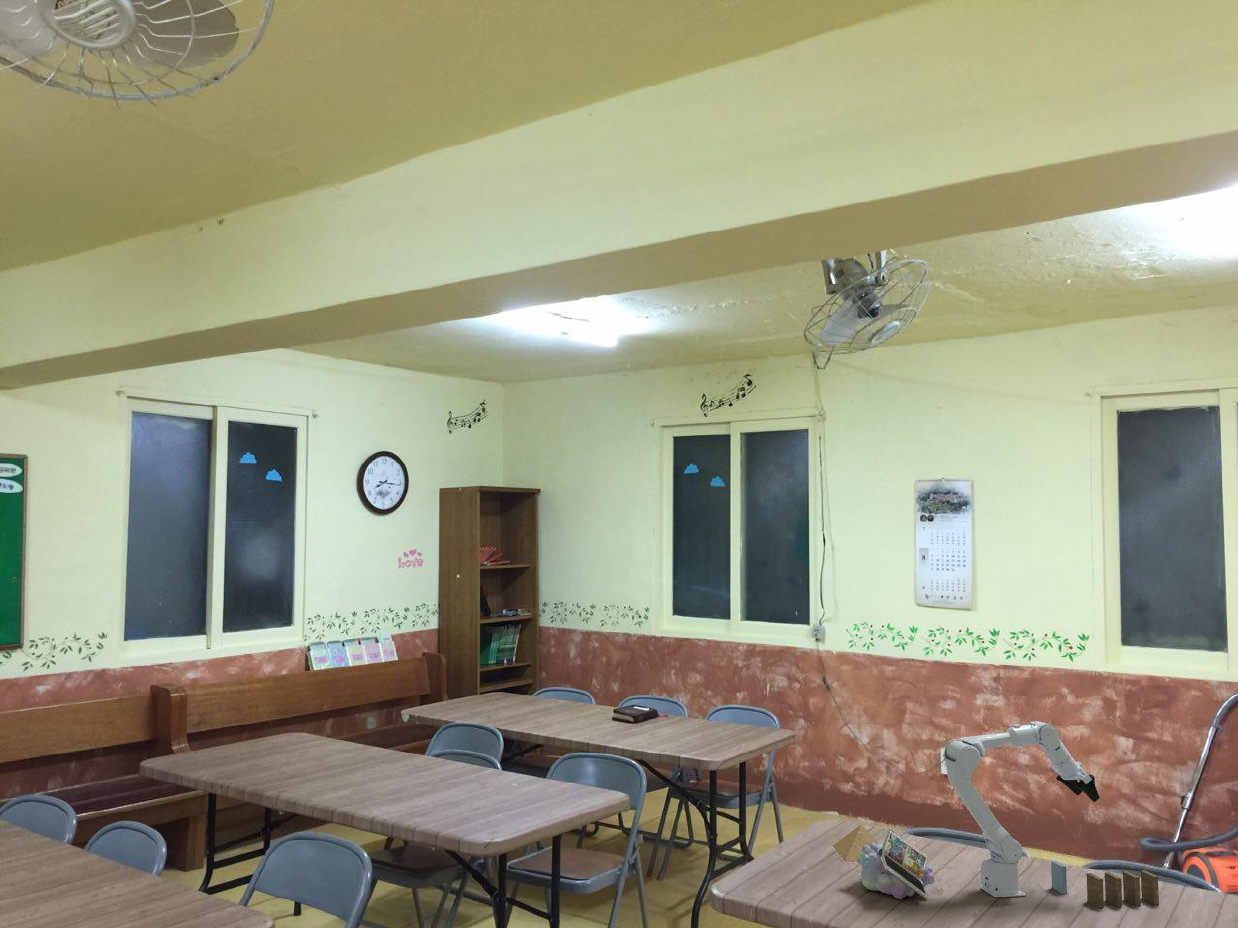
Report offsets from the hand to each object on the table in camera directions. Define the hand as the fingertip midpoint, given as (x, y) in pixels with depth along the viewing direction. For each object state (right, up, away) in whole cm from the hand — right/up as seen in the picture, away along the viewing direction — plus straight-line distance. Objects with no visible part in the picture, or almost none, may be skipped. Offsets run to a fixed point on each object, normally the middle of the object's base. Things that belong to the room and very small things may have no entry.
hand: (1088, 796), depth 276 cm
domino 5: (+11, -25, -12) cm, 30 cm away
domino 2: (-5, -24, -15) cm, 29 cm away
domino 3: (0, -25, -14) cm, 28 cm away
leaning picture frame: (-57, -25, -6) cm, 62 cm away
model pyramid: (-59, -28, +26) cm, 70 cm away
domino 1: (-10, -25, -4) cm, 28 cm away
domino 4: (+6, -25, -13) cm, 28 cm away
